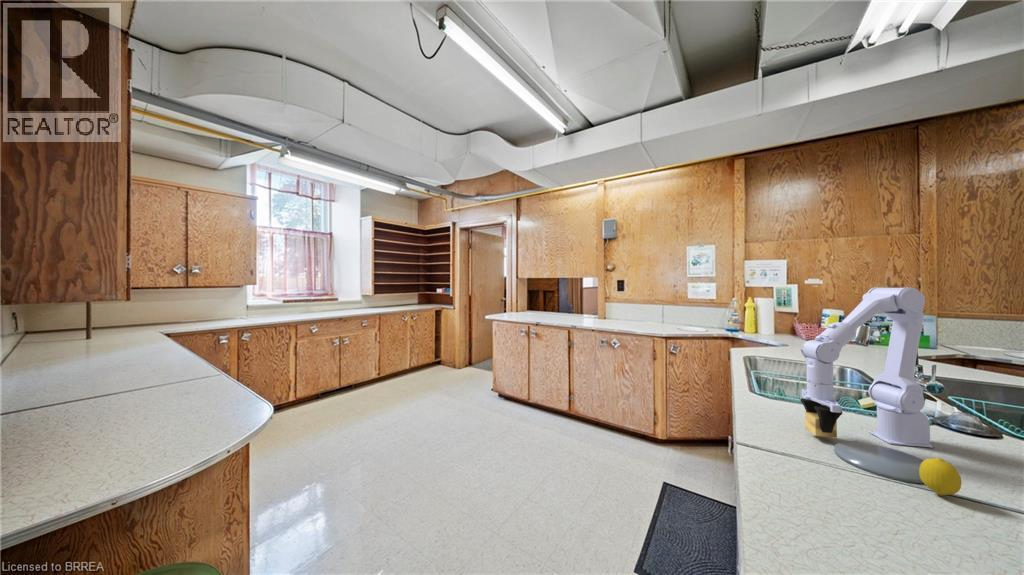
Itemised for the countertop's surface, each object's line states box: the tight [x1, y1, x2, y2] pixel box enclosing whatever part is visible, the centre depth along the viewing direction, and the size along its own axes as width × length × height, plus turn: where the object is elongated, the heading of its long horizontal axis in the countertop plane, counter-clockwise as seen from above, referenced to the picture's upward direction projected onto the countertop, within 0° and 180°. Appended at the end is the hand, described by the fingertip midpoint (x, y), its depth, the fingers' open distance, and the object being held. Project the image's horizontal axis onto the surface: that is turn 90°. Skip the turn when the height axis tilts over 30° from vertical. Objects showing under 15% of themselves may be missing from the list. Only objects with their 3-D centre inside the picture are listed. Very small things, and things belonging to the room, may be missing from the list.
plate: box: [833, 441, 925, 484], centre depth 83 cm, size 18×18×1 cm
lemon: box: [919, 457, 962, 497], centre depth 70 cm, size 6×6×8 cm
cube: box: [804, 411, 838, 438], centre depth 97 cm, size 5×5×5 cm
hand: (820, 428), depth 97 cm, fingers closed on cube, 5 cm apart
